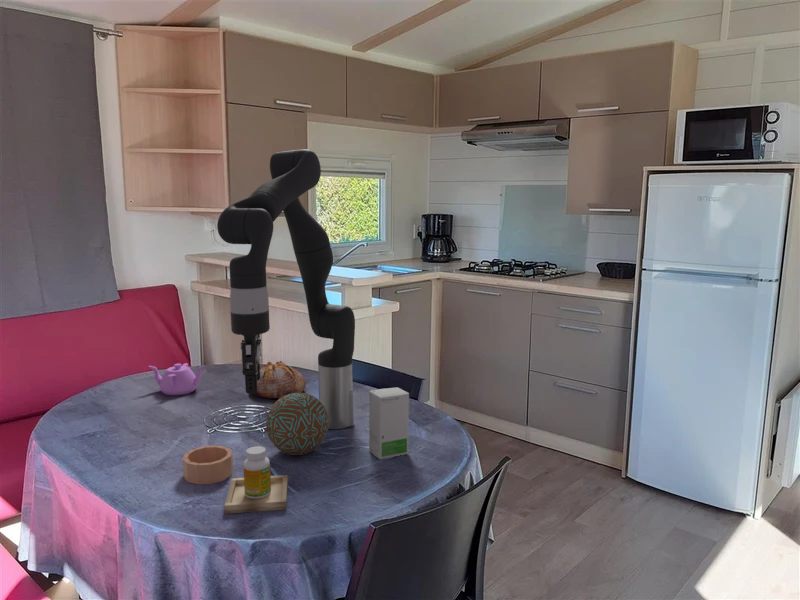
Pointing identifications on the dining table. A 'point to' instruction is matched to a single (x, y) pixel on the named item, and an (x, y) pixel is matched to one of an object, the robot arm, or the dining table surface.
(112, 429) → the dining table surface
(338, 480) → the dining table surface
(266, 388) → the bread
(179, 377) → the teapot
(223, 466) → the holder ring
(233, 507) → the tray
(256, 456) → the supplement bottle
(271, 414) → the decorative sphere
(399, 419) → the skincare box
